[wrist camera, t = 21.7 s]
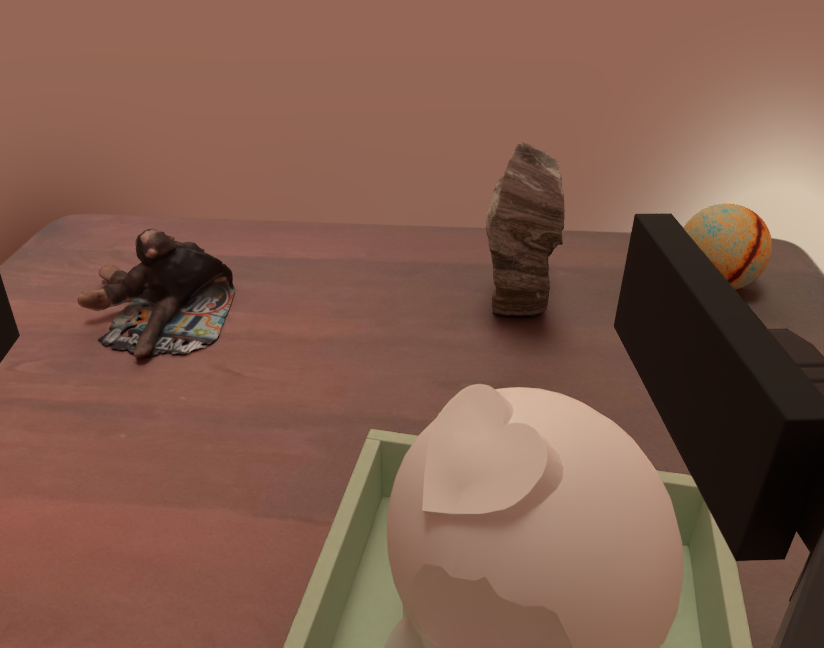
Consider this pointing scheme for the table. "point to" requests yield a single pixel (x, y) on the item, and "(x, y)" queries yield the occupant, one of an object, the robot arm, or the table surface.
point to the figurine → (530, 529)
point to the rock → (525, 231)
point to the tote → (383, 609)
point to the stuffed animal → (165, 297)
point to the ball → (732, 241)
